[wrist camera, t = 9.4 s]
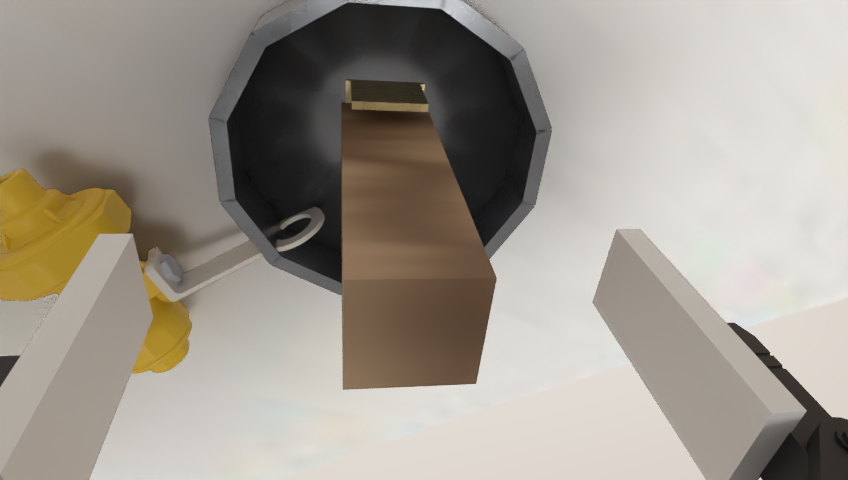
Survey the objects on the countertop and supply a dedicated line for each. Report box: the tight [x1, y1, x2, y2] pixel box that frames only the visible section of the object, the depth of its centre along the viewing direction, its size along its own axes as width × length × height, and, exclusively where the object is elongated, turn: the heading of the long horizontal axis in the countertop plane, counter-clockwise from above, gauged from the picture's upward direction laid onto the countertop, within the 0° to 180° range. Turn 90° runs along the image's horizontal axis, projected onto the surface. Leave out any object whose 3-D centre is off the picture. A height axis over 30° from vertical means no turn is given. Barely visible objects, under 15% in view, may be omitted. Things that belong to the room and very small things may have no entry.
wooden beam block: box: [341, 102, 496, 390], centre depth 18 cm, size 4×4×12 cm
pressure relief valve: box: [0, 169, 324, 373], centre depth 22 cm, size 6×12×10 cm
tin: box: [209, 0, 552, 295], centre depth 22 cm, size 13×13×3 cm
